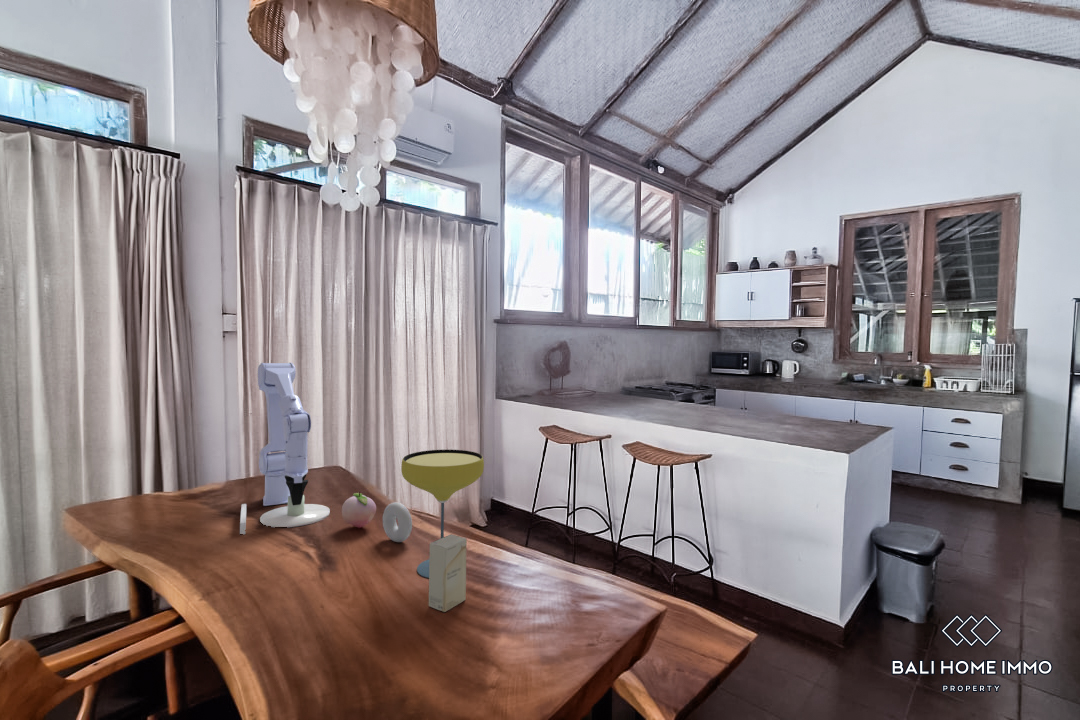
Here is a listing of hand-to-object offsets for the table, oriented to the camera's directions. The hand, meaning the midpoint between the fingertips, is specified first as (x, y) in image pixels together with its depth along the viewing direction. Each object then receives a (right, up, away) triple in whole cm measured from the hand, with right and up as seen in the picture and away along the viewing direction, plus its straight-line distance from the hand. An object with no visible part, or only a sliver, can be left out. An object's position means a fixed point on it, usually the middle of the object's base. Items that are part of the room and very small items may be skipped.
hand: (296, 502), depth 141 cm
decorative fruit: (+21, -5, -8) cm, 23 cm away
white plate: (0, -4, 0) cm, 4 cm away
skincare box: (+53, -6, -47) cm, 71 cm away
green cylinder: (0, -3, 0) cm, 3 cm away
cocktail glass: (+49, -6, -32) cm, 58 cm away
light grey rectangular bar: (-11, -4, -7) cm, 14 cm away
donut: (+34, -5, -17) cm, 39 cm away
